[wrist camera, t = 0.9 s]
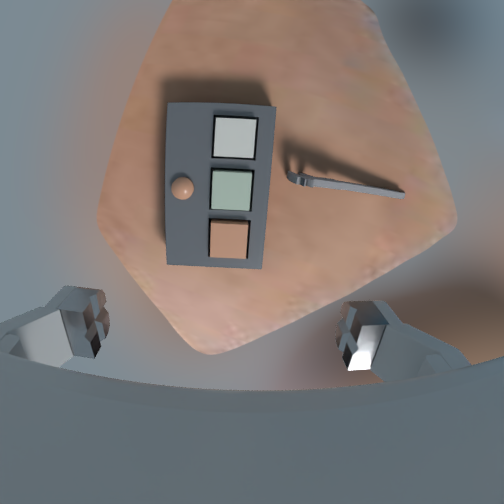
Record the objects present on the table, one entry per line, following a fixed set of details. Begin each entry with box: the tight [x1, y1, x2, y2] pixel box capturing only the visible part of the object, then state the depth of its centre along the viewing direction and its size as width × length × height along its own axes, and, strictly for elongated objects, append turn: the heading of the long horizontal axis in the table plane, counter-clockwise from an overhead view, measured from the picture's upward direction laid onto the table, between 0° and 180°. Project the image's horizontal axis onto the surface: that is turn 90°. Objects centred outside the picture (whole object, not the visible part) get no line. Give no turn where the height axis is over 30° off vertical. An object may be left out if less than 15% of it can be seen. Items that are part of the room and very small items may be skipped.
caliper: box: [287, 171, 405, 199], centre depth 42 cm, size 20×1×6 cm, turn 83°
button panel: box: [165, 102, 276, 269], centre depth 41 cm, size 23×14×5 cm, turn 176°
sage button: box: [211, 168, 252, 211], centre depth 40 cm, size 5×5×3 cm
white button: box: [214, 118, 256, 158], centre depth 37 cm, size 5×5×3 cm
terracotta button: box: [210, 218, 248, 259], centre depth 43 cm, size 5×5×3 cm
